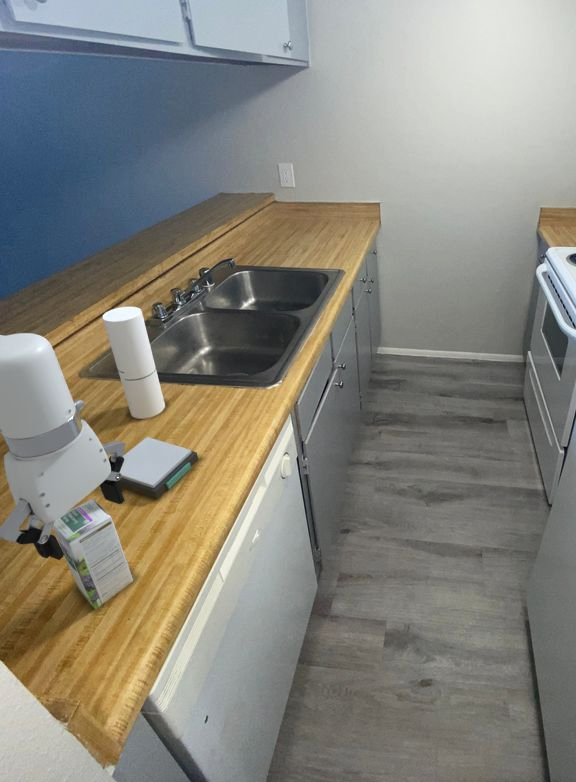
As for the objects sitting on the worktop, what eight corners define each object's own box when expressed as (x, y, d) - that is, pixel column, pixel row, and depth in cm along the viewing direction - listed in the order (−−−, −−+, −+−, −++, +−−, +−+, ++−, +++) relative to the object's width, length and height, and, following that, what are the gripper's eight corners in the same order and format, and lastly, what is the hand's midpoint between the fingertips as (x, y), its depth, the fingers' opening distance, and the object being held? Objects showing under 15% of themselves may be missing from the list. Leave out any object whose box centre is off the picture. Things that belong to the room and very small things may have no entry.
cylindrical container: (151, 398, 114) (126, 304, 102) (172, 406, 111) (149, 311, 99) (124, 414, 108) (94, 316, 96) (145, 423, 105) (117, 324, 94)
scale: (107, 484, 90) (102, 471, 88) (151, 447, 99) (148, 434, 97) (159, 502, 86) (155, 489, 85) (200, 462, 96) (197, 449, 94)
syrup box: (77, 589, 71) (46, 523, 64) (117, 561, 76) (92, 496, 69) (96, 611, 68) (66, 544, 62) (136, 580, 73) (112, 515, 66)
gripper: (84, 386, 66) (116, 476, 74) (-57, 471, 52) (3, 571, 60) (125, 397, 64) (155, 488, 72) (-8, 489, 50) (47, 590, 58)
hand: (86, 526), depth 66 cm, fingers open, 9 cm apart
